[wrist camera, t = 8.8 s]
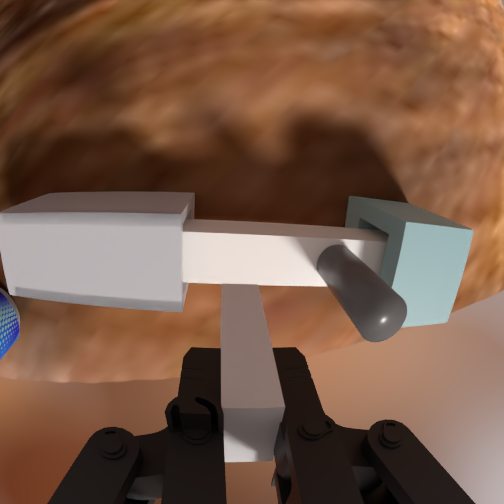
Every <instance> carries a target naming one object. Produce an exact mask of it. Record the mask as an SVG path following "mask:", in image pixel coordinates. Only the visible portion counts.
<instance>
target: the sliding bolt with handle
mask: <svg viewBox="0 0 504 504" xmlns="http://www.w3.org/2000/svg"><path fill="white" fill-rule="evenodd" d="M388 236H389V234H387V233H386V232H384V231H382V230H372V229H359V228H346V227H332V226H317V225H301V224H285V223H267V222H248V221H226V220H202V219H185V220H184V222H183V282H189V283H212V284H222V283H224V284H258V285H278V286H328V287H329V289H330V290H331V292H332V293H333V295H334V296H335V297H336V299H337V300H338V302H339V303H340V305H341V306H342V308H343V309H344V310H345V312H346V313H347V315H348V316H349V318H350V319H351V321H352V322H353V324H354V325H355V326H356V328H357V329H358V331H359V332H360V334H361V335H362V337H363V338H364V339H366V340H367V341H370V342H380V341H384V340H386V339H388V338H390V337H391V336H393V335H394V334H395V333H396V332H397V331H398V330H399V329H400V328H401V327H402V325H403V323H404V321H405V319H406V316H407V305H406V302H405V301H404V299H403V298H402V297H401V296H400V295H399V294H397V293H396V292H395V291H394V290H393V289H392V288H391V287H390V286H389V285H388V284H387V283H386V282H385V281H384V280H383V279H381V278H380V274H381V270H382V265H383V261H384V256H385V251H386V246H387V241H388Z"/></svg>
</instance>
